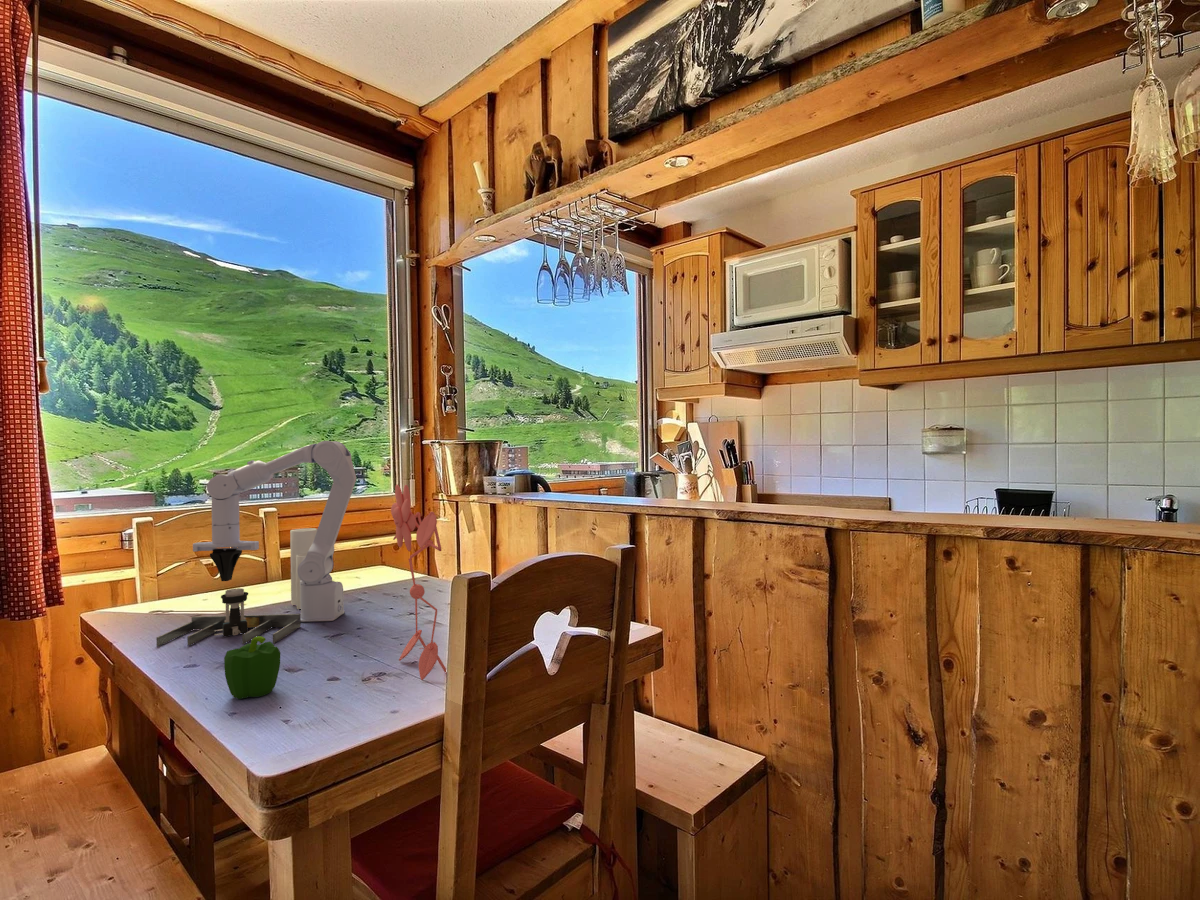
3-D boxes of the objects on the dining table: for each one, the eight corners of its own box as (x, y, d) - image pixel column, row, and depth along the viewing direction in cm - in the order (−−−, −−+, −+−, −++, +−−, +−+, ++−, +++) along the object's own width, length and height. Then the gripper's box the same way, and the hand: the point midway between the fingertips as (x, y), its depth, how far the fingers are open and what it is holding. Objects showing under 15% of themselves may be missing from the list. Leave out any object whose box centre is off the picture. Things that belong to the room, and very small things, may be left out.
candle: (288, 602, 166) (287, 529, 166) (316, 598, 171) (315, 527, 171) (299, 610, 158) (298, 533, 158) (328, 605, 162) (327, 531, 162)
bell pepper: (218, 694, 103) (218, 635, 103) (271, 681, 109) (270, 625, 109) (232, 708, 97) (231, 646, 97) (287, 694, 103) (286, 635, 103)
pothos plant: (424, 645, 127) (418, 479, 127) (466, 686, 106) (459, 485, 105) (346, 662, 119) (339, 484, 119) (374, 709, 97) (366, 491, 97)
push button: (214, 640, 134) (214, 594, 134) (213, 634, 138) (213, 590, 138) (249, 634, 137) (249, 590, 137) (247, 629, 142) (247, 586, 142)
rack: (300, 626, 143) (300, 613, 143) (274, 643, 131) (274, 629, 131) (193, 629, 142) (193, 616, 142) (156, 646, 130) (156, 632, 130)
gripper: (184, 526, 143) (185, 584, 143) (247, 525, 143) (248, 583, 143) (202, 523, 150) (203, 578, 150) (262, 522, 150) (263, 577, 150)
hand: (226, 580), depth 147 cm, fingers closed
